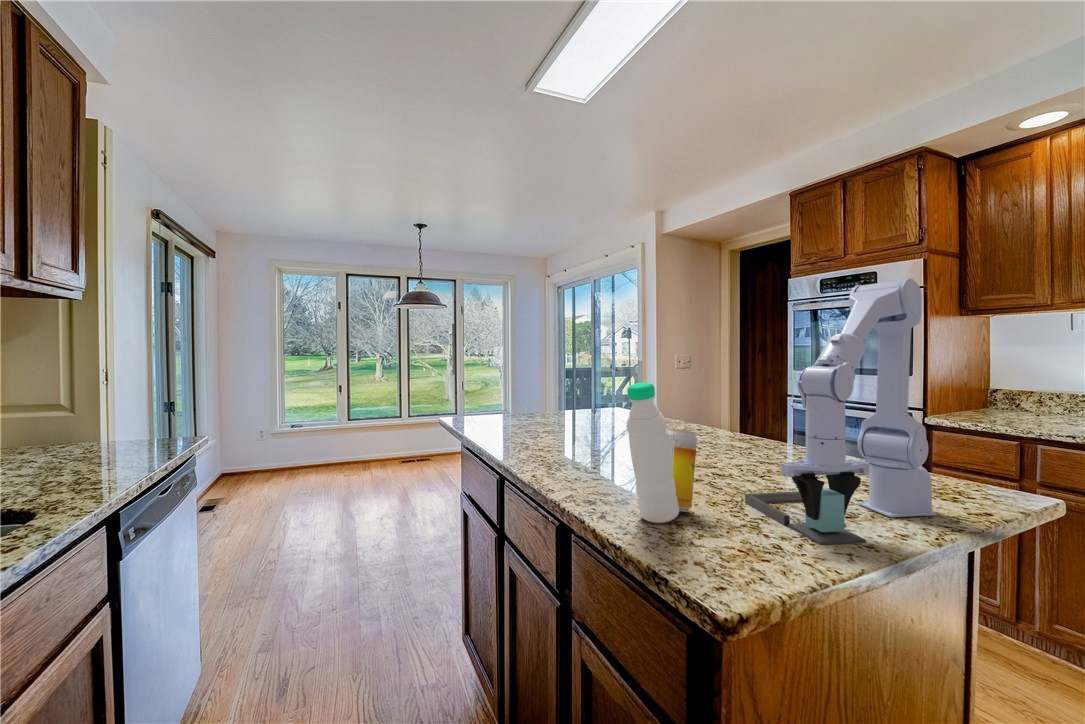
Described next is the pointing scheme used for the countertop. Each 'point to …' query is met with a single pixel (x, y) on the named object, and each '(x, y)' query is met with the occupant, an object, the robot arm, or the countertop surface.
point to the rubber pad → (826, 535)
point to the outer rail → (762, 499)
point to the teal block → (829, 512)
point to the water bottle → (651, 456)
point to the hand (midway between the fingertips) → (825, 517)
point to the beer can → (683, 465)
